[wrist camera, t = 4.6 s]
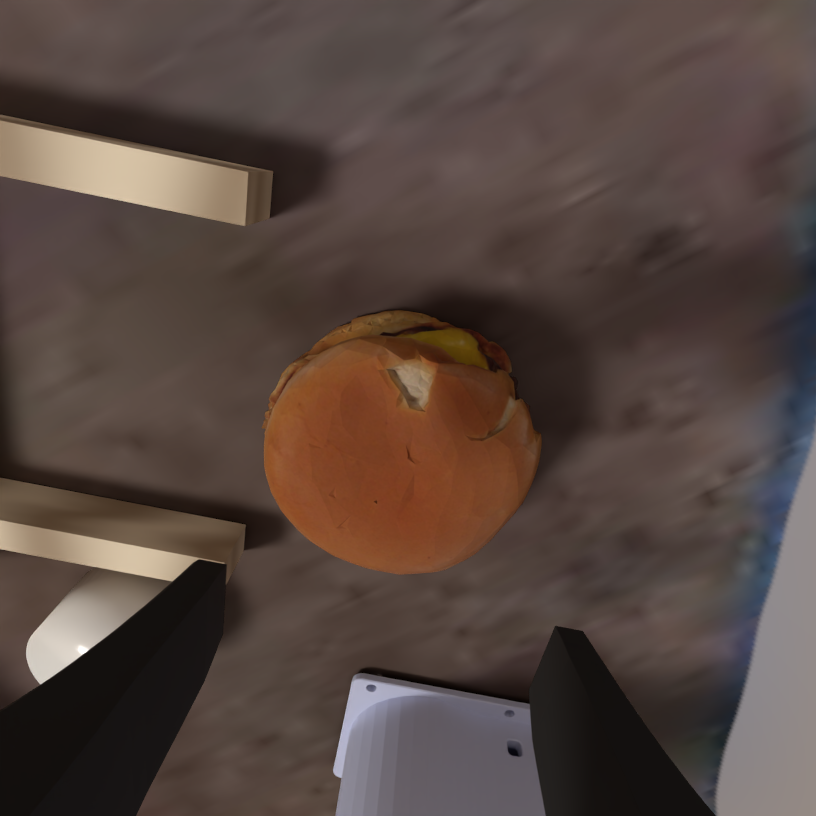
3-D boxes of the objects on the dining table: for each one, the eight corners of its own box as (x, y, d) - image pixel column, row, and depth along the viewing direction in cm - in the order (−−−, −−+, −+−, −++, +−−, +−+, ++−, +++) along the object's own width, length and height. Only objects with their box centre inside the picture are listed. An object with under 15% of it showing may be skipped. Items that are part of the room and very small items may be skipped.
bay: (273, 171, 18) (242, 172, 15) (243, 551, 24) (218, 599, 22) (-140, 85, 17) (-249, 70, 15) (-56, 494, 24) (-120, 536, 21)
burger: (312, 532, 24) (284, 611, 20) (252, 330, 20) (202, 373, 16) (537, 507, 23) (560, 584, 18) (516, 288, 19) (539, 322, 15)
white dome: (199, 574, 25) (164, 633, 22) (196, 663, 28) (165, 727, 25) (72, 550, 25) (18, 606, 22) (81, 641, 28) (33, 704, 24)
